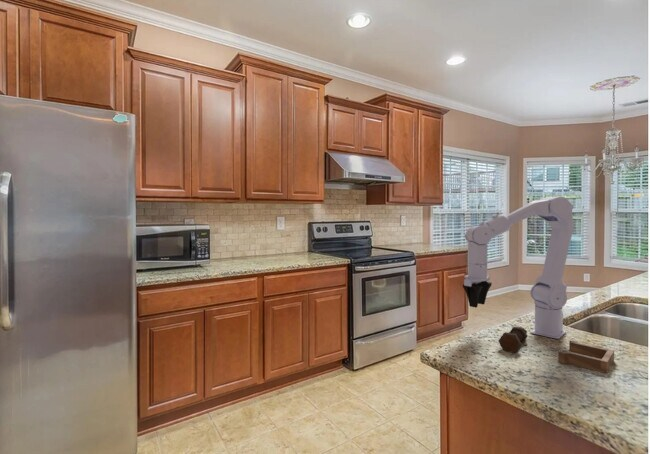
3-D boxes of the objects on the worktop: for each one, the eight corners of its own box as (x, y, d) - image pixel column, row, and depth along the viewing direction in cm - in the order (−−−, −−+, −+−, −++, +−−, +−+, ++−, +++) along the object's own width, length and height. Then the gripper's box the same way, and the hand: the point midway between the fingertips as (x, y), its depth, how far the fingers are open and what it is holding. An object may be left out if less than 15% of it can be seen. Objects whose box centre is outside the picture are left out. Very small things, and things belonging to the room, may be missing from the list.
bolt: (523, 344, 108) (511, 357, 97) (508, 333, 111) (495, 344, 100) (534, 330, 106) (523, 341, 95) (519, 319, 109) (506, 329, 98)
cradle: (570, 349, 99) (570, 339, 99) (614, 359, 92) (614, 349, 92) (557, 362, 90) (557, 351, 90) (605, 375, 83) (606, 363, 83)
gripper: (475, 260, 119) (474, 299, 120) (454, 264, 109) (454, 307, 110) (496, 262, 114) (495, 303, 115) (477, 266, 104) (476, 311, 105)
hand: (477, 305), depth 112 cm, fingers open, 5 cm apart
